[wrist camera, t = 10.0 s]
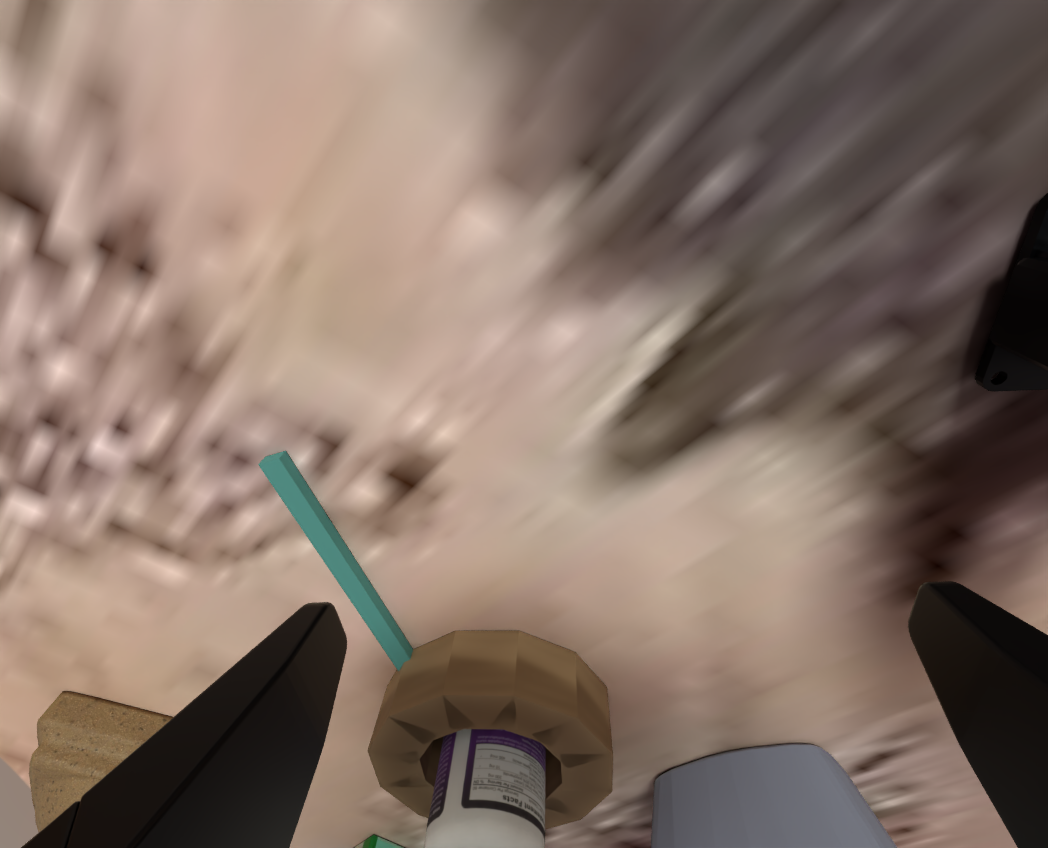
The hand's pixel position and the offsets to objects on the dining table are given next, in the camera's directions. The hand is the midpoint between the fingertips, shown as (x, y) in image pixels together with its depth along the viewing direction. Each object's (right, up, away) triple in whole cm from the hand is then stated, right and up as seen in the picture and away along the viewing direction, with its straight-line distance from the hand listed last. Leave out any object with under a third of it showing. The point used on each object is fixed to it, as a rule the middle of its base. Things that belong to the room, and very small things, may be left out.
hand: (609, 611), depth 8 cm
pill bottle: (-3, -13, +21) cm, 25 cm away
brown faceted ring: (-3, -13, +21) cm, 25 cm away
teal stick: (-9, -4, +17) cm, 20 cm away
